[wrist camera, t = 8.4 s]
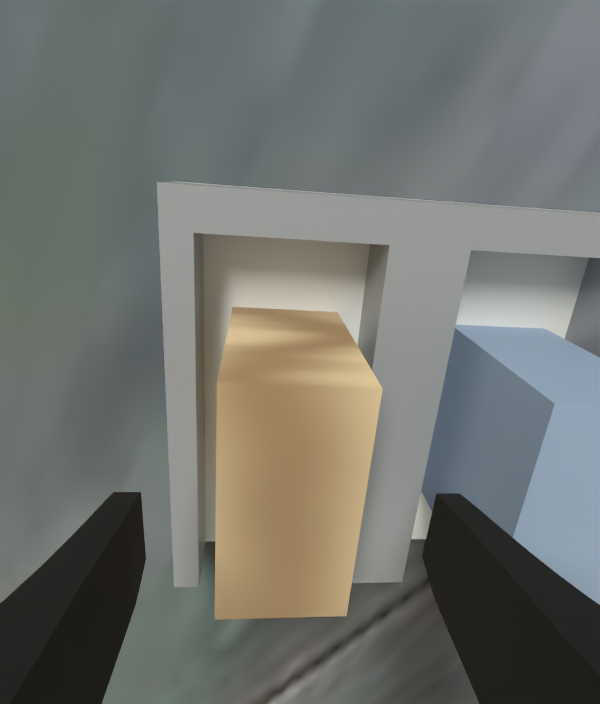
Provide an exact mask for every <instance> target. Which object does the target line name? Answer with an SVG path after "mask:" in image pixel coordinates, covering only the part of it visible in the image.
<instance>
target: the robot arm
mask: <svg viewBox="0 0 600 704" xmlns="http://www.w3.org/2000/svg"><path fill="white" fill-rule="evenodd" d="M422 557H423V560H424V564H425V567H426V571H427V575H428V578H429V581H430V585H431V588H432V591H433V594H434V598H435V600H436V602H437V605H438V607H439V610H440V612H441V614H442V617H443V619H444V622H445V624H446V626H447V629H448V631H449V633H450V636H451V638H452V640H453V643H454V645H455V647H456V650H457V652H458V654H459V657H460V659H461V661H462V664H463V666H464V668H465V671H466V673H467V675H468V678H469V680H470V682H471V685H472V687H473V689H474V692H475V694H476V696H477V699H478V701H479V704H600V605H599V604H598V603H596V602H595V601H593V600H592V599H591V598H589V597H588V596H586V595H585V594H584V593H582V592H581V591H580V590H578V589H577V588H576V587H574V586H573V585H572V584H570V583H569V582H568V581H566V580H565V579H564V578H562V577H561V576H560V575H558V574H557V573H556V572H554V571H553V570H552V569H551V568H549V567H548V566H547V565H546V564H544V563H543V562H542V561H540V560H539V559H538V558H537V557H536V556H534V555H533V554H532V553H531V552H529V551H528V550H527V549H526V548H524V547H523V546H522V545H521V544H520V543H518V542H517V541H516V540H515V539H514V538H512V537H511V536H510V535H509V534H508V533H507V532H505V531H504V530H503V529H502V528H501V527H499V526H498V525H497V524H496V523H495V522H494V521H492V520H491V519H490V518H489V517H488V516H487V515H485V514H484V513H483V512H482V511H481V510H479V509H478V508H477V507H476V506H475V505H473V504H472V503H471V502H470V501H469V500H467V499H466V498H465V497H464V496H462V495H461V494H460V493H436V497H435V502H434V506H433V510H432V515H431V519H430V524H429V528H428V533H427V537H426V542H425V546H424V550H423V555H422ZM145 560H146V556H145V542H144V528H143V514H142V501H141V492H114V493H113V494H112V495H110V496H109V497H108V498H107V499H106V500H105V501H104V503H103V504H102V505H101V506H100V507H99V508H98V509H97V510H96V511H95V512H94V513H93V514H92V515H91V516H90V517H89V518H88V520H87V521H86V522H85V523H84V524H83V525H82V526H81V527H80V528H79V529H78V530H77V531H76V532H75V533H74V534H73V535H72V536H71V537H70V538H69V539H68V540H67V541H66V542H65V543H64V544H63V545H62V546H61V547H60V548H59V549H58V550H57V551H56V552H55V553H54V554H53V555H52V556H51V557H50V558H49V559H48V560H47V561H46V562H45V563H44V564H43V565H42V566H41V567H40V568H39V569H38V570H37V571H36V572H34V573H33V574H32V575H31V576H30V577H29V578H28V579H27V580H26V581H25V582H24V583H22V584H21V585H20V586H19V587H18V588H17V589H16V590H15V591H14V592H13V593H11V594H10V595H9V596H8V597H7V598H6V599H5V600H4V601H3V602H1V603H0V704H102V701H103V698H104V695H105V692H106V689H107V686H108V683H109V680H110V678H111V675H112V672H113V669H114V666H115V663H116V660H117V657H118V654H119V652H120V649H121V646H122V643H123V640H124V637H125V634H126V631H127V628H128V625H129V622H130V619H131V616H132V613H133V610H134V607H135V604H136V600H137V596H138V592H139V587H140V583H141V579H142V574H143V569H144V565H145Z"/></svg>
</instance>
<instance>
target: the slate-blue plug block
mask: <svg viewBox="0 0 600 704" xmlns="http://www.w3.org/2000/svg"><path fill="white" fill-rule="evenodd" d="M421 492H422V494H423V496H424V497H425V499H426V501H427V503H428V505H429V507H430V509H431V511H432V510H433V506H434V502H435V497H436V493H460V494H461V495H462V496H464V497H465V498H466V499H467V500H469V501H470V502H471V503H472V504H473V505H475V506H476V507H477V508H478V509H479V510H481V511H482V512H483V513H484V514H485V515H487V516H488V517H489V518H490V519H491V520H492V521H494V522H495V523H496V524H497V525H498V526H499V527H501V528H502V529H503V530H504V531H505V532H507V533H508V534H509V535H510V536H511V537H512V538H514V539H515V540H516V541H517V542H518V543H520V544H521V545H522V546H523V547H524V548H526V549H527V550H528V551H529V552H531V553H532V554H533V555H534V556H536V557H537V558H538V559H539V560H540V561H542V562H543V563H544V564H546V565H547V566H548V567H549V568H551V569H552V570H553V571H554V572H556V573H557V574H558V575H560V576H561V577H562V578H564V579H565V580H566V581H568V582H569V583H570V584H572V585H573V586H574V587H576V588H577V589H578V590H580V591H581V592H582V593H584V594H585V595H586V596H588V597H589V598H591V599H592V600H593V601H595V602H596V603H598V604H599V605H600V357H598V356H596V355H594V354H592V353H590V352H588V351H586V350H585V349H583V348H581V347H579V346H577V345H575V344H573V343H571V342H569V341H567V340H566V339H564V338H562V337H560V336H558V335H556V334H554V333H552V332H550V331H548V330H546V329H545V328H522V327H499V326H476V325H456V326H455V331H454V335H453V340H452V345H451V350H450V355H449V359H448V364H447V369H446V374H445V379H444V383H443V388H442V393H441V398H440V403H439V408H438V412H437V417H436V422H435V427H434V432H433V436H432V441H431V446H430V451H429V456H428V460H427V465H426V470H425V475H424V480H423V484H422V489H421Z"/></svg>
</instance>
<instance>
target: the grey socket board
mask: <svg viewBox="0 0 600 704" xmlns="http://www.w3.org/2000/svg"><path fill="white" fill-rule="evenodd" d="M157 198H158V221H159V244H160V268H161V291H162V315H163V338H164V361H165V385H166V408H167V431H168V455H169V478H170V501H171V525H172V548H173V571H174V587H199V583H200V576H201V569H202V562H203V556H204V549H205V542H206V541H215V534H216V428H217V381H218V376H219V371H220V366H221V361H222V356H223V351H224V346H225V341H226V336H227V332H228V327H229V322H230V317H231V312H232V307H246V308H266V309H286V310H306V311H326V312H338V314H339V315H340V317H341V319H342V320H343V322H344V324H345V326H346V327H347V329H348V331H349V332H350V334H351V336H352V337H353V339H354V341H355V342H356V344H357V346H358V348H359V349H360V351H361V353H362V354H363V356H364V358H365V359H366V361H367V363H368V365H369V366H370V368H371V370H372V371H373V373H374V375H375V376H376V378H377V380H378V381H379V383H380V385H381V387H382V388H383V390H382V397H381V403H380V409H379V415H378V422H377V428H376V434H375V440H374V447H373V453H372V459H371V466H370V472H369V478H368V484H367V491H366V497H365V503H364V509H363V516H362V522H361V528H360V534H359V541H358V547H357V553H356V560H355V566H354V572H353V578H352V583H387V582H402V581H403V576H404V571H405V566H406V561H407V557H408V552H409V547H410V542H411V539H426V537H427V533H428V528H429V524H430V519H431V515H432V511H431V509H430V507H429V505H428V503H427V501H426V499H425V497H424V496H423V494H422V492H421V489H422V484H423V480H424V475H425V470H426V465H427V460H428V456H429V451H430V446H431V441H432V436H433V432H434V427H435V422H436V417H437V412H438V408H439V403H440V398H441V393H442V388H443V383H444V379H445V374H446V369H447V364H448V359H449V355H450V350H451V345H452V340H453V335H454V331H455V326H456V325H476V326H499V327H522V328H545V329H546V330H548V331H550V332H552V333H554V334H556V335H558V336H560V337H562V338H564V339H566V340H567V341H569V342H571V343H573V344H575V345H577V346H579V347H581V348H583V349H585V350H586V351H588V352H590V353H592V354H594V355H596V356H598V357H600V213H594V212H580V211H567V210H553V209H540V208H526V207H513V206H499V205H486V204H472V203H459V202H445V201H432V200H418V199H405V198H391V197H378V196H364V195H351V194H337V193H324V192H310V191H297V190H283V189H270V188H256V187H243V186H229V185H216V184H202V183H189V182H157Z"/></svg>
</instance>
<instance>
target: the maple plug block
mask: <svg viewBox="0 0 600 704" xmlns="http://www.w3.org/2000/svg"><path fill="white" fill-rule="evenodd" d="M382 390H383V388H382V387H381V385H380V383H379V381H378V380H377V378H376V376H375V375H374V373H373V371H372V370H371V368H370V366H369V365H368V363H367V361H366V359H365V358H364V356H363V354H362V353H361V351H360V349H359V348H358V346H357V344H356V342H355V341H354V339H353V337H352V336H351V334H350V332H349V331H348V329H347V327H346V326H345V324H344V322H343V320H342V319H341V317H340V315H339V314H338V312H326V311H306V310H286V309H266V308H246V307H232V312H231V317H230V322H229V327H228V332H227V336H226V341H225V346H224V351H223V356H222V361H221V366H220V371H219V376H218V381H217V428H216V534H215V620H217V619H256V618H294V617H332V616H347V610H348V603H349V597H350V591H351V585H352V578H353V572H354V566H355V560H356V553H357V547H358V541H359V534H360V528H361V522H362V516H363V509H364V503H365V497H366V491H367V484H368V478H369V472H370V466H371V459H372V453H373V447H374V440H375V434H376V428H377V422H378V415H379V409H380V403H381V397H382Z"/></svg>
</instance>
